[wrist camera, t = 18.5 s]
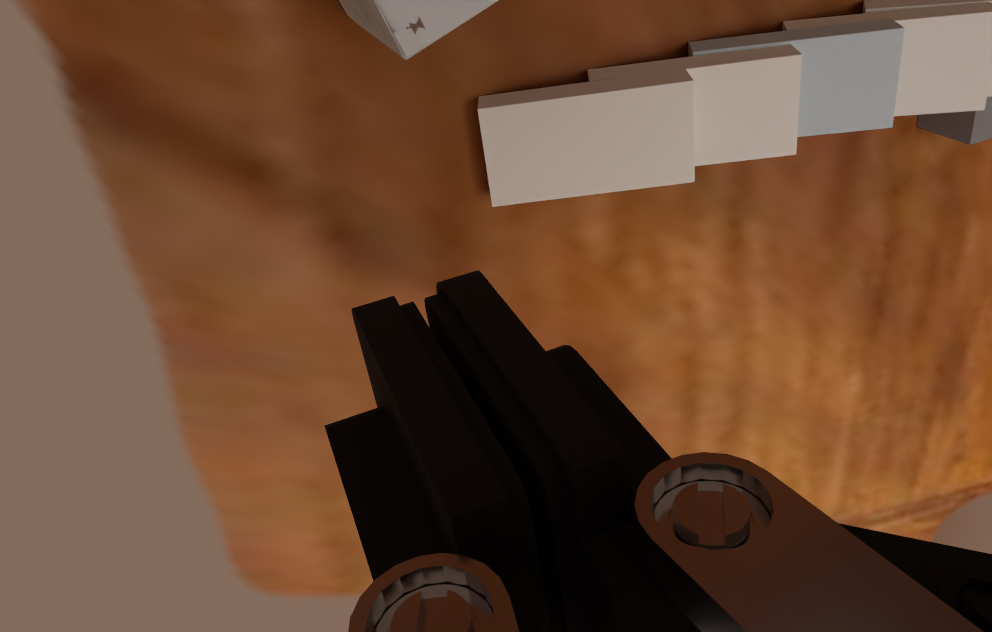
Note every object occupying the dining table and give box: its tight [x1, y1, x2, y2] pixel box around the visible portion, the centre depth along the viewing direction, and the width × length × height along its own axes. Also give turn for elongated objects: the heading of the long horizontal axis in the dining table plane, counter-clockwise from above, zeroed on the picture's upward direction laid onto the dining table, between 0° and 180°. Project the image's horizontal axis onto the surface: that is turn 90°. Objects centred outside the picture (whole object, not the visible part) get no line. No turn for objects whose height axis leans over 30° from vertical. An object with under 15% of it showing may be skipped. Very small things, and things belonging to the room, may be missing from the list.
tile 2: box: [587, 44, 802, 166], centre depth 41 cm, size 2×5×10 cm
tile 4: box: [783, 2, 992, 116], centre depth 43 cm, size 2×5×10 cm
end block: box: [917, 97, 992, 145], centre depth 46 cm, size 4×12×4 cm, turn 9°
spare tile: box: [688, 18, 905, 137], centre depth 42 cm, size 2×5×10 cm
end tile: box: [478, 69, 695, 207], centre depth 40 cm, size 2×5×10 cm
